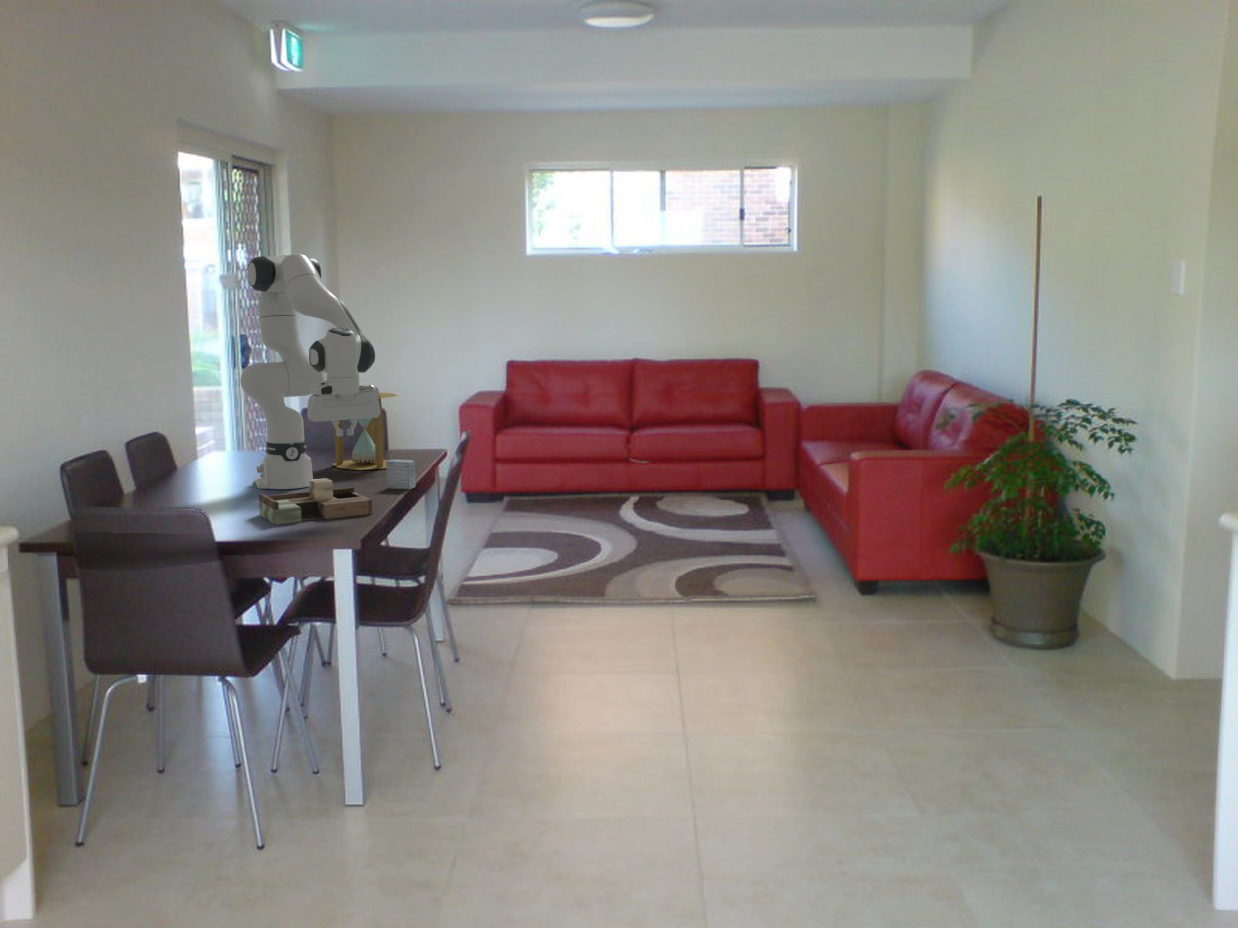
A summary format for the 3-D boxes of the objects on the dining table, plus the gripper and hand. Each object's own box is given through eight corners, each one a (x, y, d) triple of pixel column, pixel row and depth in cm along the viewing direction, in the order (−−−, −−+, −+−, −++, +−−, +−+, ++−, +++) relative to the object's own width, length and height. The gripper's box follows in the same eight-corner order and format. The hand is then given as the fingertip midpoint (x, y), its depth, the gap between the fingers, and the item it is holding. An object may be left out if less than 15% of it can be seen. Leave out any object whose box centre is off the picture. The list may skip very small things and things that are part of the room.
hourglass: (319, 465, 413) (317, 393, 409) (374, 458, 429) (372, 389, 425) (356, 473, 396) (354, 398, 392) (412, 465, 412) (410, 394, 408)
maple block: (309, 497, 334) (309, 479, 333) (327, 495, 336) (326, 478, 335) (315, 500, 330) (314, 482, 329) (333, 498, 332) (332, 480, 331)
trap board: (259, 514, 329) (258, 493, 328) (353, 504, 344) (352, 484, 343) (275, 524, 317) (274, 502, 316) (372, 513, 331) (371, 492, 330)
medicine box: (416, 487, 371) (415, 460, 370) (409, 490, 367) (409, 462, 366) (393, 486, 373) (392, 459, 372) (386, 488, 369) (385, 461, 368)
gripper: (374, 384, 340) (376, 431, 342) (304, 387, 329) (306, 436, 331) (382, 385, 335) (384, 434, 337) (311, 389, 324) (313, 439, 326)
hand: (345, 435), depth 334 cm, fingers closed
